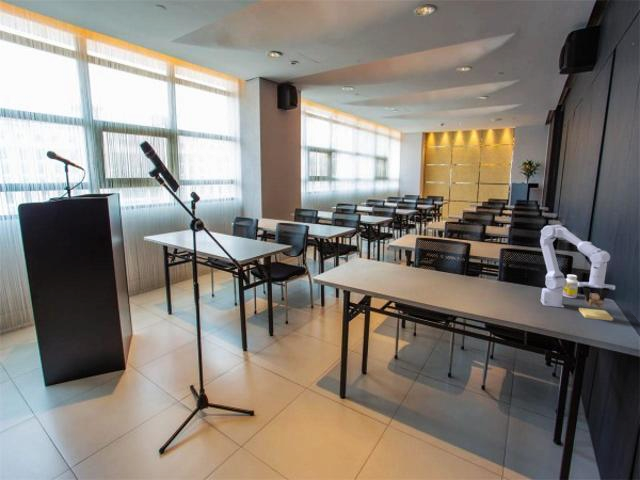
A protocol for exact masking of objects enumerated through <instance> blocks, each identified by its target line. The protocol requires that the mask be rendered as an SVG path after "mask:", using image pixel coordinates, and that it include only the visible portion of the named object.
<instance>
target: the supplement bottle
mask: <svg viewBox="0 0 640 480" xmlns="http://www.w3.org/2000/svg"><path fill="white" fill-rule="evenodd" d="M565 279H566V280H567V285H566V286H565V287H564V290H563V297H565V298H568V299H570V298H571V299H576V298H577V296H578V288H579V286H578V282H579V280H578V275H576V274H570V273H569V274H566V278H565Z"/></svg>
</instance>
